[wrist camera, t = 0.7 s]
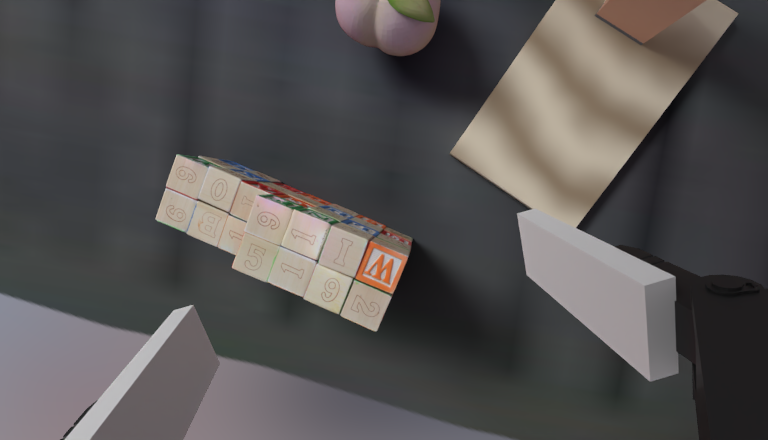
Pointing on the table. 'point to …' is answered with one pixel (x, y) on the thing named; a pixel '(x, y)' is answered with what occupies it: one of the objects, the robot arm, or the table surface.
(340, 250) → the stack of blocks
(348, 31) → the decorative fruit
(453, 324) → the table surface
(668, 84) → the board
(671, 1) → the block
